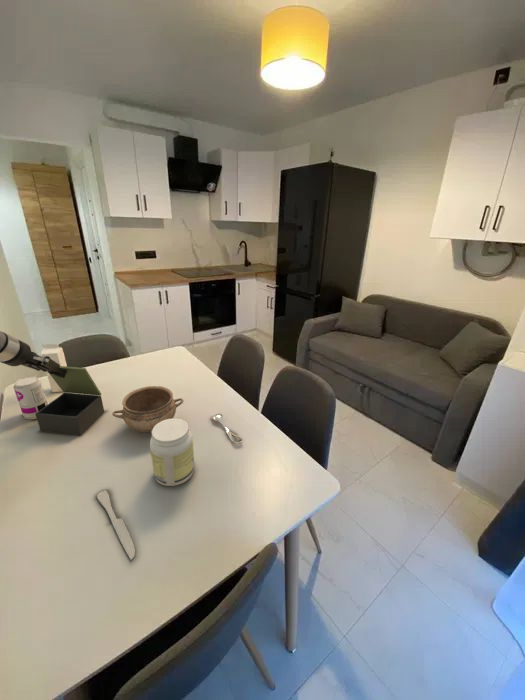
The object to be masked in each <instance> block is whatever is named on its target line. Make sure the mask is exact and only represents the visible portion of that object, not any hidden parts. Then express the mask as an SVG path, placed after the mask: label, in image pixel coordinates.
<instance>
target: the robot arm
mask: <svg viewBox="0 0 525 700" xmlns="http://www.w3.org/2000/svg"><path fill="white" fill-rule="evenodd" d="M0 363H1V364H4V365H7V366H9V367H18V366H23V367H26V368H29V369H32V370H36V371H38V372H40V371H42V372H44V373H46V372H47V371H48V373H49V374H53V375H55V376H58V377H60V378H65V375H66V372H67V371H66V370H64V369H62V368H60V365H59V364H58V363H56V362H55V361H53V360H52V359H50V357H49V356H45V357H43V358H42V355H39V354H37V353H36V352H34V351H32V348H31V347H30V345H29V344H28V343H26V342H25V341H22V340H20V339H18V338H16V337H15V336H12V335H11V334H8V333H6V332H4V331H2V330H0Z"/></svg>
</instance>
